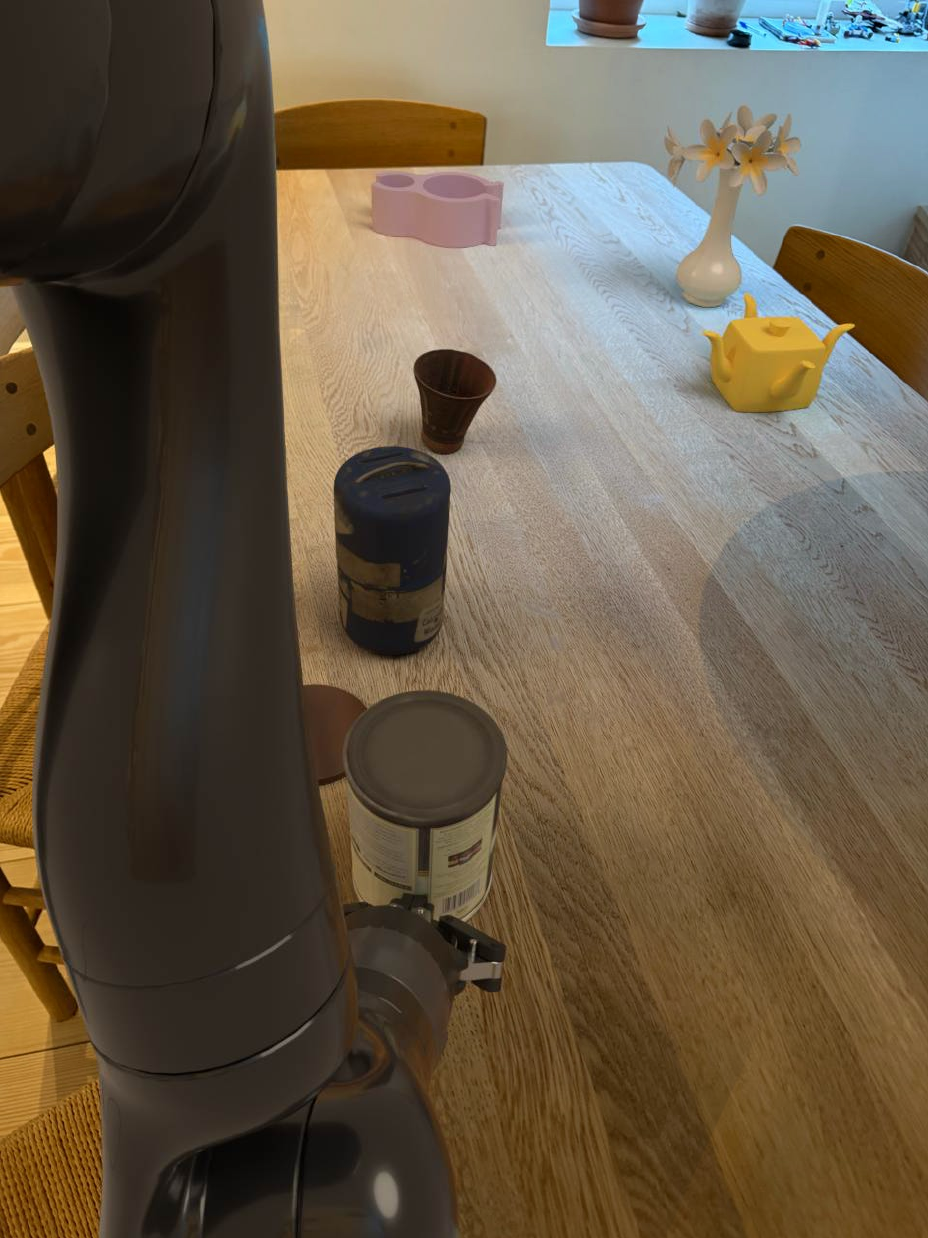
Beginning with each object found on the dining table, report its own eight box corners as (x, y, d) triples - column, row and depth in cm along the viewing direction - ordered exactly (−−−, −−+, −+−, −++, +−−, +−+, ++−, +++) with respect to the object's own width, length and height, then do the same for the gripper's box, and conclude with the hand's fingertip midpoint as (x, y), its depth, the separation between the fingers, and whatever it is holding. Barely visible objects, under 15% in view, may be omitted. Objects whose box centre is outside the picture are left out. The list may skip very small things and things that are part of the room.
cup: (482, 475, 105) (489, 395, 98) (403, 462, 106) (404, 382, 99) (496, 432, 111) (503, 353, 104) (422, 420, 112) (423, 342, 105)
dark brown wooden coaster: (281, 806, 73) (280, 800, 72) (229, 718, 79) (228, 712, 78) (395, 754, 77) (395, 747, 76) (338, 674, 83) (338, 668, 82)
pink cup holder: (366, 238, 148) (365, 193, 144) (381, 208, 157) (380, 164, 153) (494, 251, 147) (497, 206, 143) (502, 220, 156) (505, 176, 151)
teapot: (684, 396, 119) (701, 324, 112) (726, 352, 128) (744, 283, 121) (797, 436, 114) (822, 363, 107) (832, 387, 123) (858, 317, 116)
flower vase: (625, 282, 142) (657, 97, 125) (740, 276, 145) (787, 96, 128) (656, 323, 133) (694, 131, 115) (777, 317, 136) (833, 128, 119)
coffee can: (399, 790, 74) (400, 667, 65) (516, 851, 71) (536, 730, 61) (321, 892, 68) (308, 771, 58) (445, 964, 64) (454, 848, 55)
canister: (335, 594, 90) (326, 432, 78) (435, 586, 92) (441, 425, 79) (345, 668, 83) (336, 503, 71) (452, 658, 85) (461, 494, 72)
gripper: (519, 951, 45) (520, 867, 62) (246, 908, 46) (322, 837, 63) (498, 1110, 45) (505, 981, 62) (225, 1065, 46) (306, 950, 63)
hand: (413, 909), depth 63 cm, fingers closed
